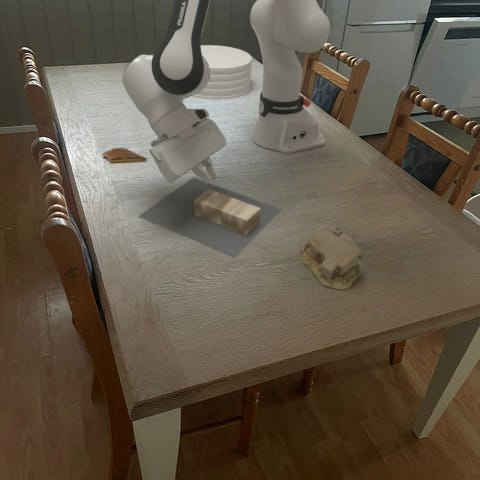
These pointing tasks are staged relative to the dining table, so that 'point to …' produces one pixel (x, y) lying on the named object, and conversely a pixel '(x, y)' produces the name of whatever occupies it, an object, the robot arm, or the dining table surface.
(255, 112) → the dining table surface
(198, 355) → the dining table surface
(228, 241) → the rubber mat
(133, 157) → the shard
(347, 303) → the dining table surface
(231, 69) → the plate stack
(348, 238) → the ceramic model
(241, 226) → the birch block
